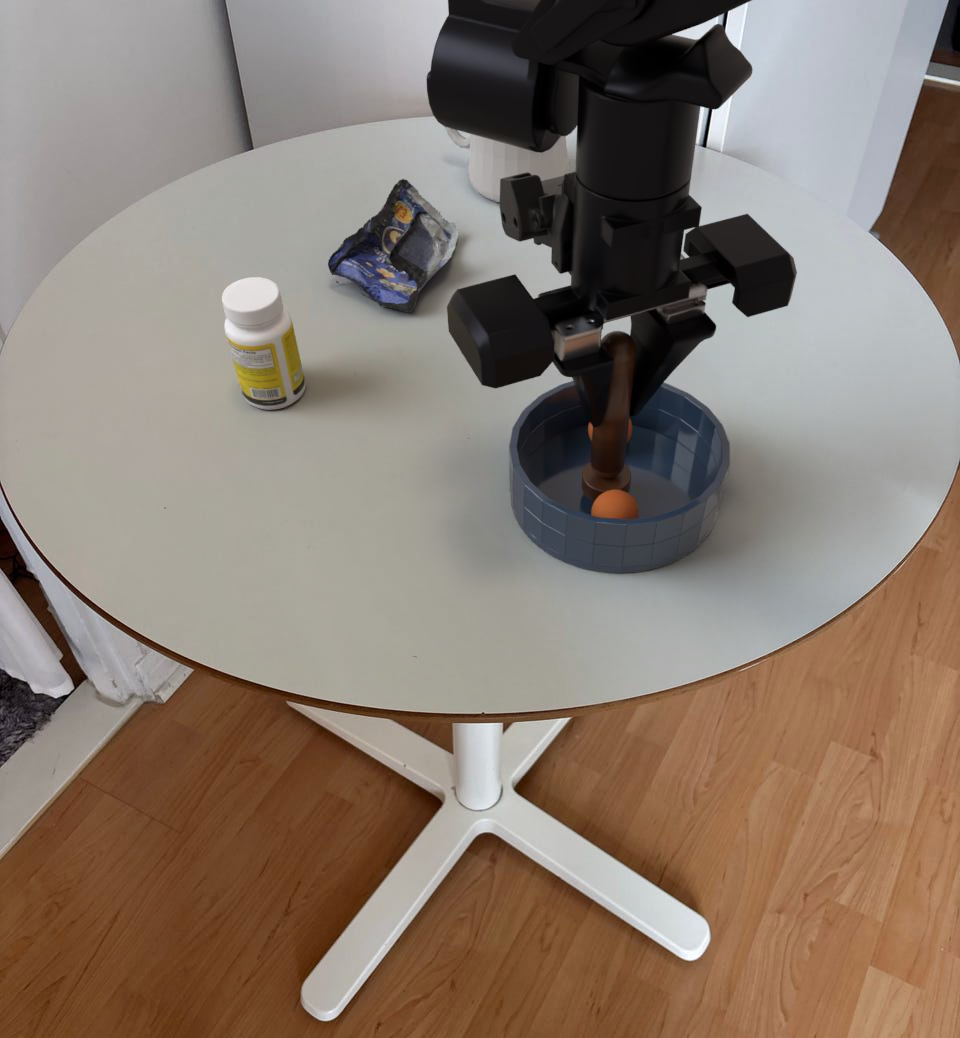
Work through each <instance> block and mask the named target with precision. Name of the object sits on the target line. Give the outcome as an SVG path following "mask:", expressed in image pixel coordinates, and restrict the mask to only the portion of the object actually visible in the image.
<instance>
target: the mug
mask: <svg viewBox="0 0 960 1038" xmlns="http://www.w3.org/2000/svg"><path fill="white" fill-rule="evenodd" d="M443 127H444V129H445V132H446V134H447V136H448V137H449V138H450V139H451V141H452V142H453V143H454V144H455V145H456V146H458V147H459V148H460V149H466V150H467V149H468V150H469V152H468V153H469V155H468V168H467V172H468V178H469V183H470V185H471V187H472V188H473V189H474V190H475V191H476V192H477V193H478V194H480V195H481V196H483V197H484V198H486V199H488V200H491V201H492V202H497V203H500V179H501V178H505V177H510V176H514V175H518V174H522V173H526V172H528V173H530V174H531V175H538V176H539V177H540V179H541V181H544V180H548V179H552V178H556V177H560V176H564V174H568V173H569V157H568V147H567V136H561V137H560V138H559V140H558V141H557V142H556V143H555V145H554V146H553V147H552V148H550V149H549V150H547V151H545V152H543V153H540V152H534V151H530V150H526V149H523V148H519V147H516V146H512V145H509V144H505V143H502V142H498V141H494V140H491V139H487V138H484V137H480V136H477V135H473V134H469V136H468V137H465V136H463V135H462V134H461V133H460V131H459V130H455V129H452V128H448V127H445V126H443Z"/></svg>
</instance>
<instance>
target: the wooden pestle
mask: <svg viewBox="0 0 960 1038" xmlns="http://www.w3.org/2000/svg"><path fill="white" fill-rule="evenodd" d="M601 343H602V344H603V346H604V347H605V348H606V349H607V351H608V352H609V353H610V355H611V356H612V357H613V359H614V365H613V371H612V377H611V382H610V387H609V393H608V398H607V404H606V410H605V414H604V417H603V419H602V422H601V425H600V426H599V427H596V428H594V427H593V431H592V446H591V462H589V463H588V464H587V465H586V466H585V467H584V469H583V471H582V484H581V487H582V491H583V493H584V494H585V496H586V497H587V498H589V499H590V500H592V501H594V502H595V500H596V499H597V497H598V496H599V495H601V494H602V493H604V492H606V491H609V490H622V491H625V492H627V493H629V490H630V483H631V472H630V470H629V468H628V467H627V465H626V464H625V456H626V446H627V436H628V426H629V416H630V406H631V396H632V386H633V377H634V367H635V357H636V345H635V342H634V340H633V339H632V337H631V336H630V333H627V332H625V331H622V330H613V331H611V332H608V333H606V334H605V335H604V336H602V337H601Z"/></svg>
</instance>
